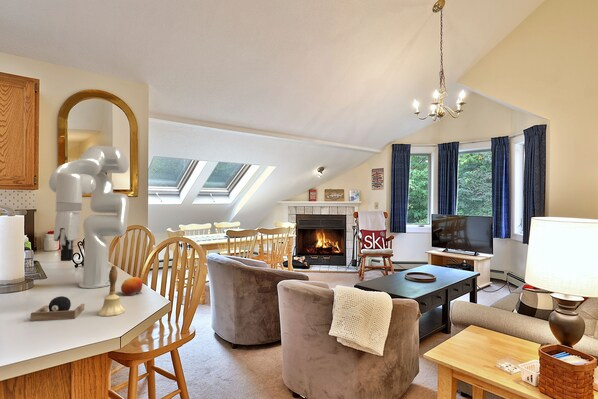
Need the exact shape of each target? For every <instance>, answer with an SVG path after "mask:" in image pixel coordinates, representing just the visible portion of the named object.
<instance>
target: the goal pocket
mask: <svg viewBox="0 0 598 399" xmlns="http://www.w3.org/2000/svg"><path fill="white" fill-rule="evenodd" d="M48 306H49V304H48V305H43V306H41V307H40V308H38V309H37V310H36V311H31V313H30V322H40V321H41V322H42V321H44V322H45V321H57V320H61V321H62V320H75V318H77V317H78V316H79V315H80V314H81V313H82V312H83V311H84V310H85V306H86V304H85V303H80V305H78V306H77V307H76V308H75V309H73V310H70V309H69V310H68V311H49V309H48Z"/></svg>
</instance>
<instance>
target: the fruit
mask: <svg viewBox="0 0 598 399" xmlns="http://www.w3.org/2000/svg"><path fill="white" fill-rule="evenodd" d="M142 288H143V280H142V279H141V277H138V276H133V277H132V276H131V277H129V278H127V279H125V280H124V281H123V282H122V284H121V286H120V291H121V292H122V294H124V296H135V295H136V294H138V293H140V294H142V292H141V291H142Z"/></svg>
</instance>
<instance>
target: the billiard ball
mask: <svg viewBox="0 0 598 399" xmlns="http://www.w3.org/2000/svg"><path fill="white" fill-rule="evenodd" d="M71 306H72V302H71V300H70V299H69V298H68V297H67V296H61V295H59V296H56V297H54V298H53V299H51V300H50V302H49V304H48V311H68V310H70V308H71Z"/></svg>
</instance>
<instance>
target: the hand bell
mask: <svg viewBox="0 0 598 399" xmlns="http://www.w3.org/2000/svg"><path fill="white" fill-rule="evenodd" d="M117 279H118V269H117V266H116V265H111V267H110V270H109V272H108V280H109V281H110V285H109V294H108V295H106V296H105V297H104V300H103V305H102V306H101V309H100V310H99V311H98V312H97V316H100V317H112V316H113V317H114V316H118V315H121V314H124V313H125V312H126V309H125V308H124V307H123V306H122V304H121V302H120V301H121V300H120V296H119V295H118V294H116V284H117Z"/></svg>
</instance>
